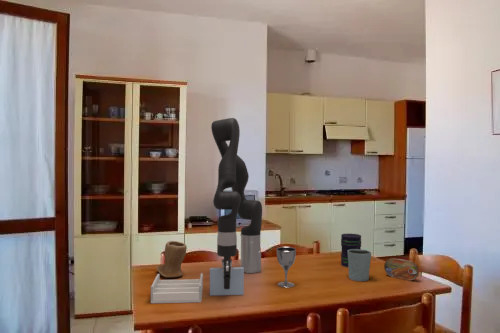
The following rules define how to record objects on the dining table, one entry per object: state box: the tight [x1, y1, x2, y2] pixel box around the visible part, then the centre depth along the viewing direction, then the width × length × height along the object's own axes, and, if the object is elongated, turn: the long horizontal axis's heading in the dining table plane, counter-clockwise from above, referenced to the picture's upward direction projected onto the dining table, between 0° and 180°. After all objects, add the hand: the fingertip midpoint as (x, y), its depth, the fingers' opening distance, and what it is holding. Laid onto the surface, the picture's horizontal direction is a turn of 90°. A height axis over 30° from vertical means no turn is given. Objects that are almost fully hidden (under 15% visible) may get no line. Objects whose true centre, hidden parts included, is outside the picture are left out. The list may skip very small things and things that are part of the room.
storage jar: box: [340, 233, 362, 268], centre depth 195 cm, size 10×10×15 cm
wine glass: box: [276, 246, 297, 288], centre depth 163 cm, size 8×8×15 cm
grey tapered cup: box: [347, 249, 372, 282], centre depth 173 cm, size 10×10×12 cm
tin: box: [383, 257, 420, 282], centre depth 174 cm, size 15×3×8 cm, turn 45°
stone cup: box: [155, 240, 187, 278], centre depth 177 cm, size 15×12×15 cm
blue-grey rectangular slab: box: [209, 266, 245, 296], centre depth 151 cm, size 13×2×10 cm, turn 95°
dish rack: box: [150, 272, 204, 304], centre depth 150 cm, size 18×16×6 cm
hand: (226, 287), depth 151 cm, fingers closed on blue-grey rectangular slab, 2 cm apart
